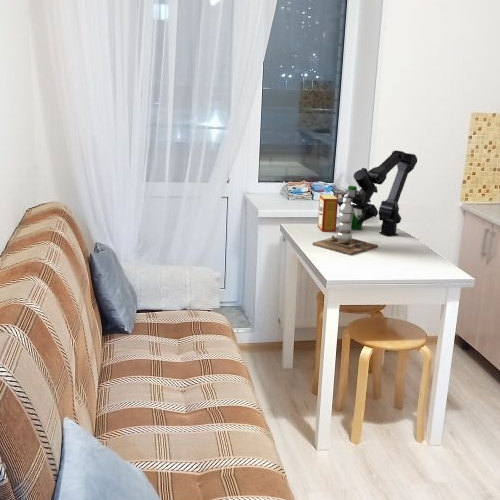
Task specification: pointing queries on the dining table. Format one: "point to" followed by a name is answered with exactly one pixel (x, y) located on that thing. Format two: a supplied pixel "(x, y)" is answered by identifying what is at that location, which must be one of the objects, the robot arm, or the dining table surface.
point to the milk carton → (355, 212)
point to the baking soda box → (327, 213)
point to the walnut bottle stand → (345, 245)
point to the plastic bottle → (345, 221)
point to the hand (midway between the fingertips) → (347, 222)
